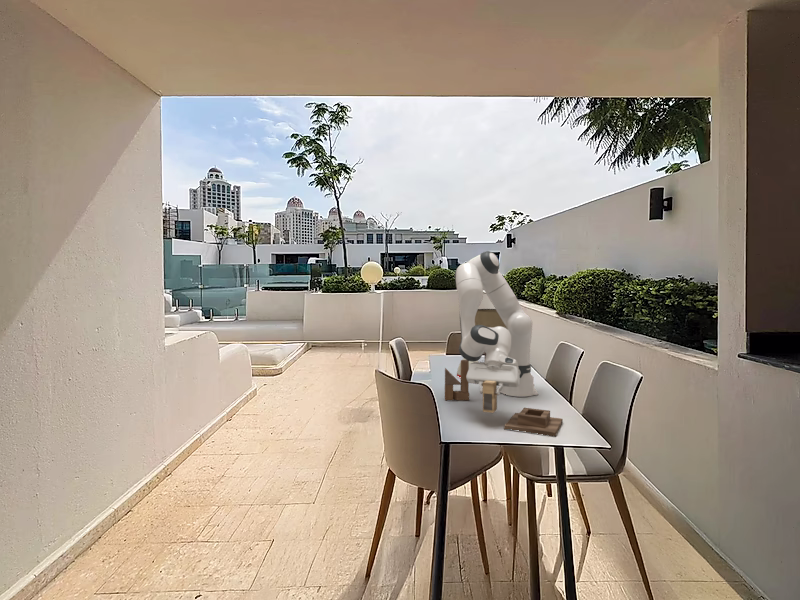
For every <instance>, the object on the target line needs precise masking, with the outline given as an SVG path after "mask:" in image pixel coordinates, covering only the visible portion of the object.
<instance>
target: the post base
mask: <svg viewBox="0 0 800 600" xmlns="http://www.w3.org/2000/svg"><path fill="white" fill-rule="evenodd" d="M563 422H564V421H563V418H559V417H554V416H553V417H552V416H551V410H547V409H539V408H531V407H522V409H521V410H520V412H515V413H513V415H512V416H511V417H510V418H509V419H508V421H507V422H506V423H505V424H504V427H503V429H504V430H505V429H512V430H519V431H526V432H531V433H530V434H532V433H538V434H537V435H539V434H543V435H542V436H546V435H549V436H548V437H553V436H555V437H557V435H558V432H559V430H560V429H561V426H562V425H563Z"/></svg>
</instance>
